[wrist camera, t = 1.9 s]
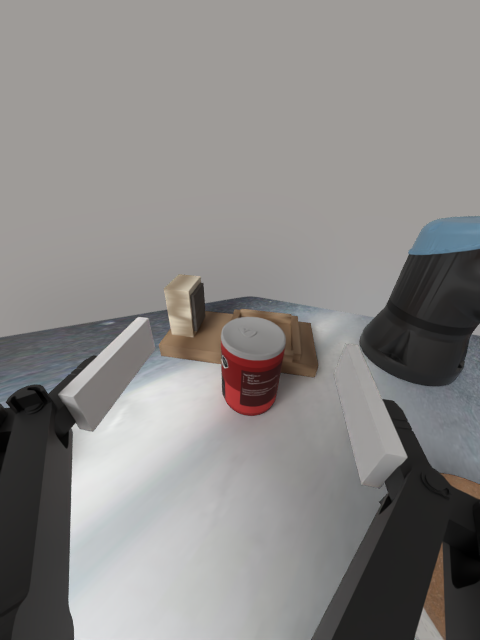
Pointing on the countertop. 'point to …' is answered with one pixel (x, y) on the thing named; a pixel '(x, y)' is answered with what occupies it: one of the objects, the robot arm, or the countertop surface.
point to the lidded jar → (440, 579)
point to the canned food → (251, 363)
